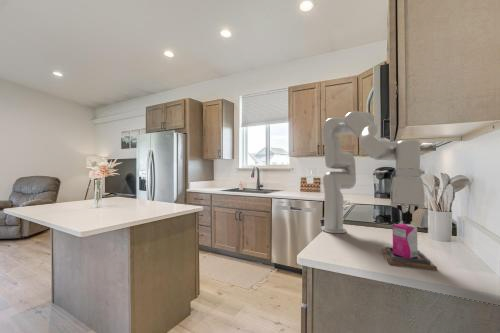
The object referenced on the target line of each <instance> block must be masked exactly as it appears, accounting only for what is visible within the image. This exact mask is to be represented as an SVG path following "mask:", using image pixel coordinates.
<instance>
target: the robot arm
mask: <svg viewBox="0 0 500 333" xmlns="http://www.w3.org/2000/svg"><path fill="white" fill-rule="evenodd" d="M374 117H375V115H374V114H372V113H371V112H367V111H360V110H359V111H358V110H357V111H356V110H355V111H354V110H353V111H350V112H348V113H346V115H344V117H330V118H327V119H326V120H325V121H324V122H323V126H322V129H321V131H322V138H323V143H324V162H325V166H326V168H327V169H331V170H332V171H328V172H326V173H325V174H324V175H323V176H322V182H323V183H322V184H323V190H324V215H323V216H324V222H323V226H321V231H322V232H325V233H329V234H345V233H347V229H346V228H345V227H344V195H343V193H342V192H341V190H351V189H352V188H354V187H355V186H356V182H357V172H356V159H355V156H354V155H353V153H351V152H349V151H342V143H341V140H340V138H339V137H338V135H345V136H353V135H355V136H357V137H358V143H359V147H360V148H361V150H362V151H363V152H364V154H366V155H367V156H368V157H370V159H373V160H375V161H392V162H393V161H395V176H392V179H391V180H392V181H391V185H390V196H389V197H390V198H389V199H390V204H389V205H390V206H391V207H393V208H396V209H398V210H399V211H400V212H401V221H402V224H407V225H412V224H411V223H412V222H413V214H414V213H415V212H416V211H417V210H419V209H425V201H426V200H425V197H426V196H425V185H424V181H423V178H422V177H421V176H422V175H425V170H422V169H421V143H420V141H419V140H417V139H403V140H399V141H387V140H379V139H378V138H376V137H375V136H376V135H377V133H378V130H379V128H378V126H377V125H376V122H375V123H374ZM333 170H341V171H333ZM406 205H408V206H407V207H406Z"/></svg>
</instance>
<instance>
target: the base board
mask: <svg viewBox="0 0 500 333" xmlns="http://www.w3.org/2000/svg"><path fill="white" fill-rule="evenodd" d="M380 252H381V254H382V255H383V257H384V258H385V260H386V262H387V264H388V265H390V266H397V267H406V268H412V269H420V270H427V271H429V270H430V271H434V272H435V271H436V272H437V271H438V267H437V266H436V265H435V264H434V262H432V261H431V259H429V258H428V257H427V256H426V255H425V254H424V253H423V252H421V251H420V250H418V258H415V259H412V258H404V257H398V256H395V255H393V247H389V246H388V247H387V246H386V247H385V248H381V249H380Z"/></svg>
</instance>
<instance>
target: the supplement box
mask: <svg viewBox="0 0 500 333" xmlns="http://www.w3.org/2000/svg"><path fill="white" fill-rule="evenodd" d="M392 248H393V255H395V256H398V257H404V258H412V259H415V258H418V251H419V250H418V226H417V225H416V226H415V225H412V224H405V223H398V224H392Z"/></svg>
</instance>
